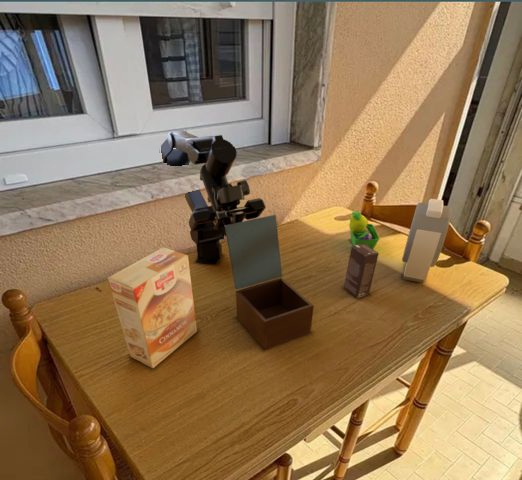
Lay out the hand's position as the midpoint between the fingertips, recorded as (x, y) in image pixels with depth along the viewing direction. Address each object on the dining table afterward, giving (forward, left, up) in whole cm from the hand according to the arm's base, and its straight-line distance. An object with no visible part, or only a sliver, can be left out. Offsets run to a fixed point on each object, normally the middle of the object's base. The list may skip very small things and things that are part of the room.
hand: (239, 247), depth 93 cm
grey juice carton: (+46, +21, -13) cm, 52 cm away
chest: (+11, -12, -13) cm, 21 cm away
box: (+30, +7, -13) cm, 34 cm away
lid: (+6, -6, +2) cm, 9 cm away
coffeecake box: (-11, -25, -13) cm, 30 cm away
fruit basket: (+30, +34, -13) cm, 48 cm away
